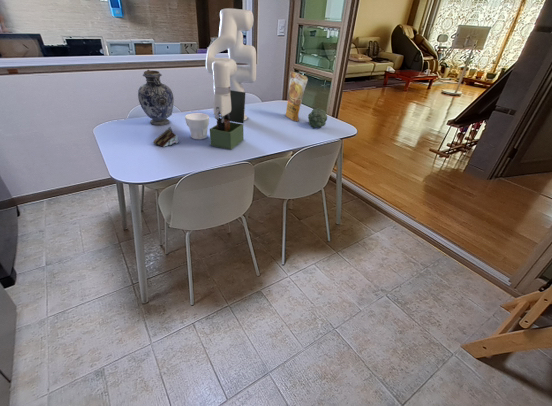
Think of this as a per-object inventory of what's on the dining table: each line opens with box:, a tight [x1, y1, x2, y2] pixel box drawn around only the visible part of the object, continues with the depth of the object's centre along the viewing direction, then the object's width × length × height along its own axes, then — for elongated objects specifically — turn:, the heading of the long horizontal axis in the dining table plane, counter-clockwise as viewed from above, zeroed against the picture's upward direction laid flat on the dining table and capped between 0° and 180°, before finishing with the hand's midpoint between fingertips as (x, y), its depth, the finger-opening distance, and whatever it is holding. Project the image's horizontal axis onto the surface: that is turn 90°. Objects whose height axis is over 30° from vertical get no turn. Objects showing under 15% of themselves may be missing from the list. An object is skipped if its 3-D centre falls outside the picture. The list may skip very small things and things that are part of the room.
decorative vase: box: [137, 69, 175, 126], centre depth 163 cm, size 21×19×28 cm
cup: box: [184, 112, 210, 140], centre depth 153 cm, size 12×12×11 cm
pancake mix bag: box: [285, 70, 309, 122], centre depth 186 cm, size 7×19×28 cm, turn 26°
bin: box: [209, 121, 244, 151], centre depth 149 cm, size 15×12×9 cm
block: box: [216, 119, 231, 132], centre depth 143 cm, size 5×5×5 cm
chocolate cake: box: [152, 126, 180, 148], centre depth 145 cm, size 10×7×12 cm
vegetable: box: [307, 107, 328, 129], centre depth 180 cm, size 12×13×15 cm
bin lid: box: [230, 90, 246, 124], centre depth 149 cm, size 15×12×1 cm
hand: (224, 127), depth 144 cm, fingers closed on block, 4 cm apart
